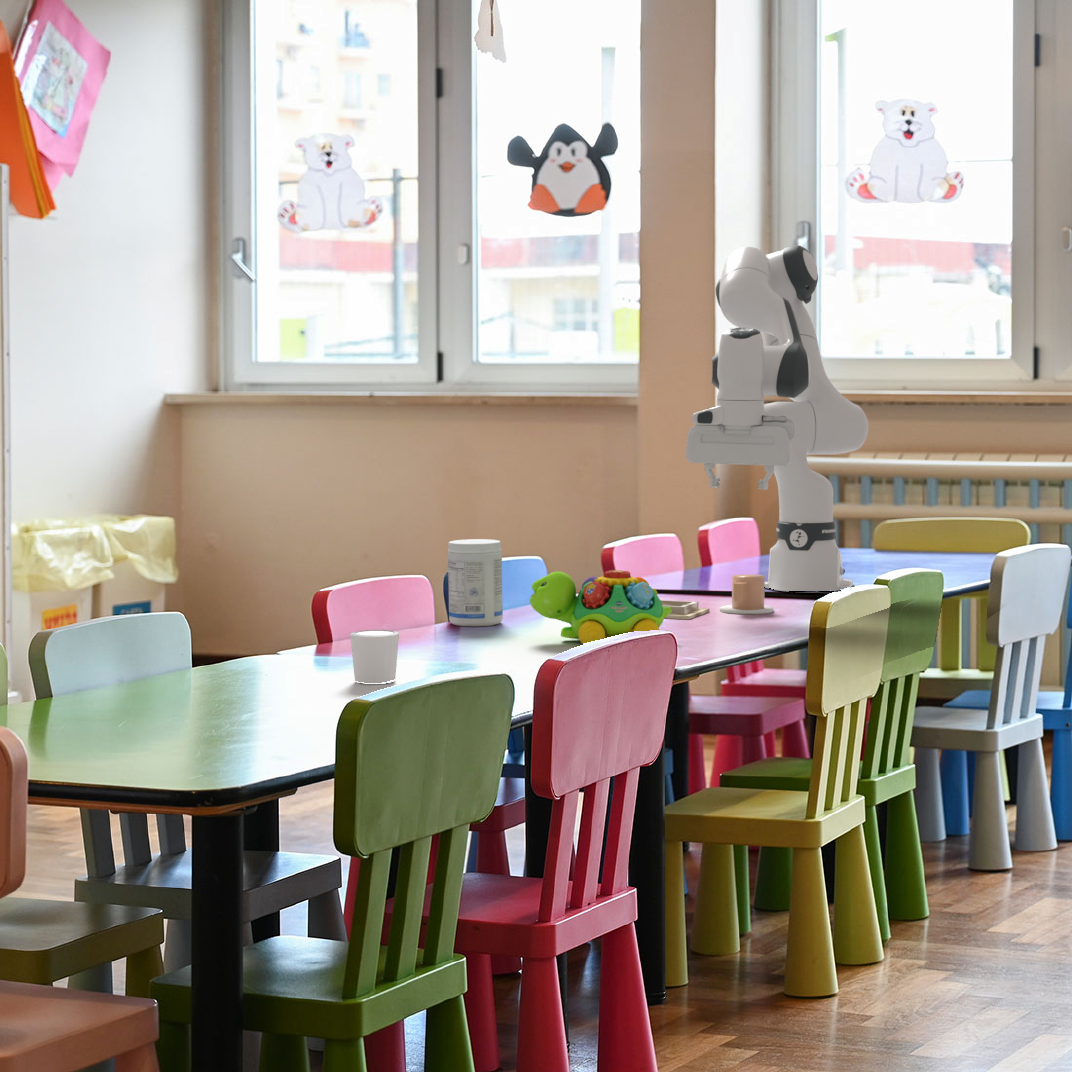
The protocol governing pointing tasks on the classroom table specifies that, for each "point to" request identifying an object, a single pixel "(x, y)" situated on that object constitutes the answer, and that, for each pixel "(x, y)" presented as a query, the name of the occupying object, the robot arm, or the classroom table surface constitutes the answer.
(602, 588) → the turtle toy
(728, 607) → the coaster
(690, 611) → the jug stand
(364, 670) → the white cup
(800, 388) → the robot arm
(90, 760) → the classroom table surface
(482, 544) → the supplement tub
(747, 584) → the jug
